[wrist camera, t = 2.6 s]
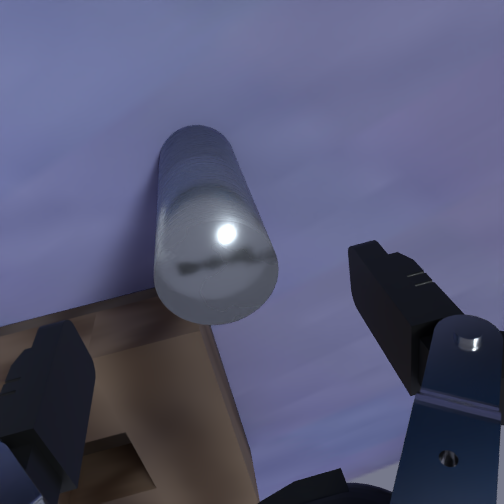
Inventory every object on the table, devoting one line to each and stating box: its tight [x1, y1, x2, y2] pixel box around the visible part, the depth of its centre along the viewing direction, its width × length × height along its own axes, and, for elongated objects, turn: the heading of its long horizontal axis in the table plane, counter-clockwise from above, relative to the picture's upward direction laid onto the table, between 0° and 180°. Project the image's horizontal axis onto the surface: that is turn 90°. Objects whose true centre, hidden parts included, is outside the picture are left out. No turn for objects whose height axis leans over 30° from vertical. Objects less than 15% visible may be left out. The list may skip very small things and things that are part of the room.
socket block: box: [0, 288, 260, 504], centre depth 29 cm, size 18×18×5 cm
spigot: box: [154, 125, 278, 325], centre depth 19 cm, size 4×4×11 cm
